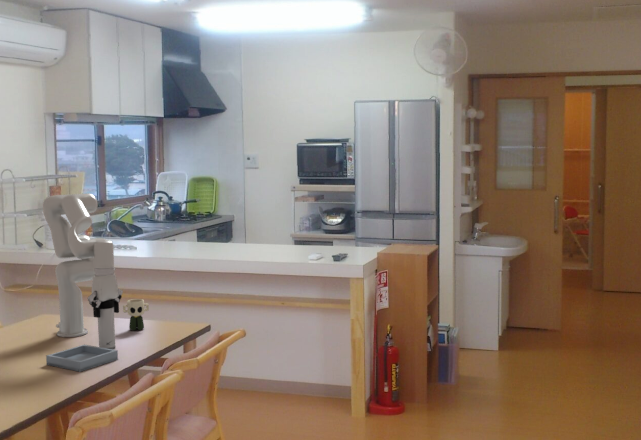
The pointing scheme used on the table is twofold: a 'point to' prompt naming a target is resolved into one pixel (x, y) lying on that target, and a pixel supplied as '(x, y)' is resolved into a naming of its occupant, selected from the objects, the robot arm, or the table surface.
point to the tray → (82, 357)
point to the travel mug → (106, 325)
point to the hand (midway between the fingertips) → (106, 314)
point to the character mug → (136, 313)
